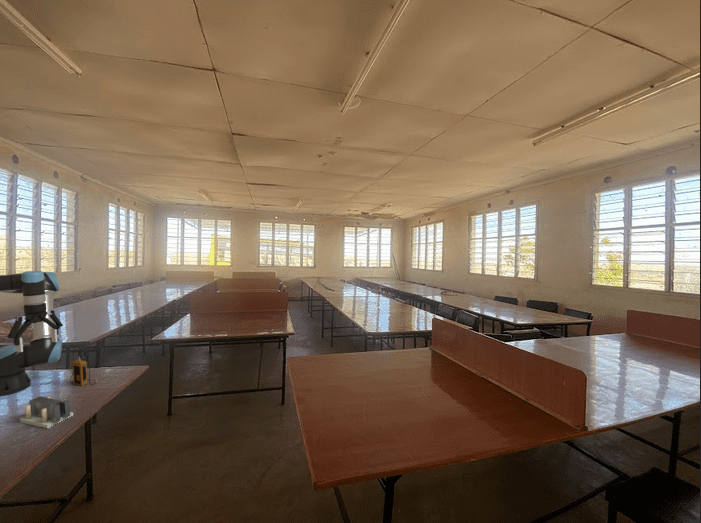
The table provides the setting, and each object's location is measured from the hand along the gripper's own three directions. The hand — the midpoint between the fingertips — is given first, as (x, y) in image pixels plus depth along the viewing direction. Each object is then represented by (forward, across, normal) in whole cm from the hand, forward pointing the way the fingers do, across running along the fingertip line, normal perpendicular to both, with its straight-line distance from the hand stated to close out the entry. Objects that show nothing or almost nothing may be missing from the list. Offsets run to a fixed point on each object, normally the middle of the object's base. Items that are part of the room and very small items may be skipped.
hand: (38, 346), depth 149 cm
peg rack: (+29, +8, +18) cm, 35 cm away
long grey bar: (+27, +8, +19) cm, 34 cm away
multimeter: (+29, -23, -3) cm, 37 cm away
